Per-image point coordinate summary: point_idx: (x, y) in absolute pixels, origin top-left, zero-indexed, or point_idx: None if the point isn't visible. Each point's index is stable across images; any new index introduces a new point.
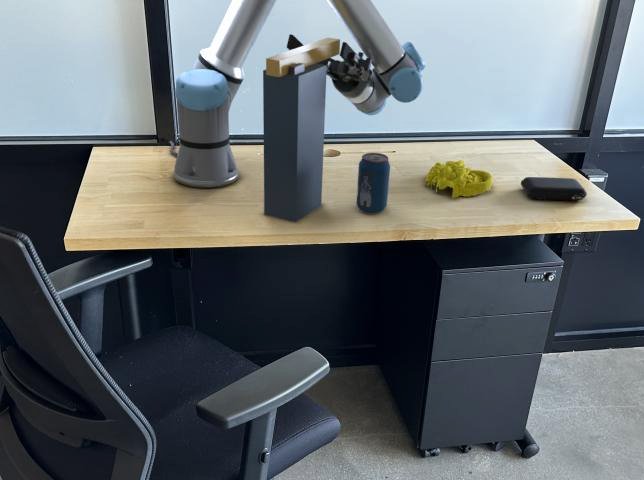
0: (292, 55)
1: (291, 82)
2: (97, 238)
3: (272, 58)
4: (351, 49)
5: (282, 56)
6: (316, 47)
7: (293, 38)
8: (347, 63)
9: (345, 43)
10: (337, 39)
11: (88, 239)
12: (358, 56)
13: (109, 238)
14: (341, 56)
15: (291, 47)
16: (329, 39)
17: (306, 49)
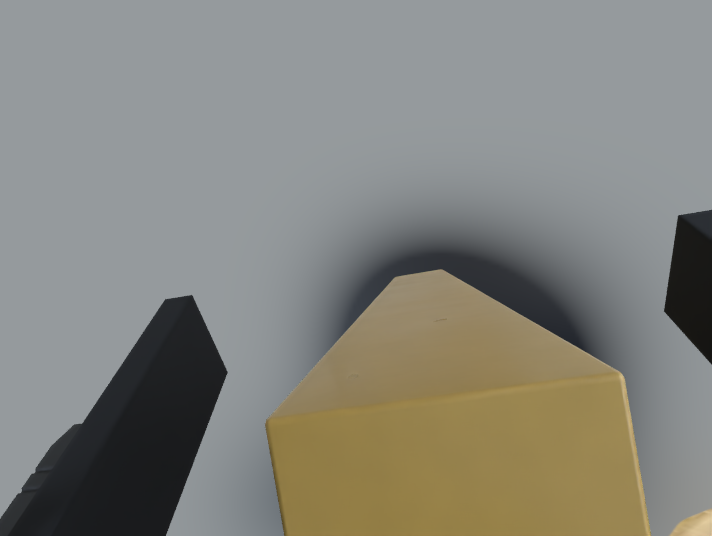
0: (394, 281)
1: None
2: (700, 521)
3: (425, 272)
4: (108, 397)
5: (416, 276)
6: (376, 299)
7: (692, 249)
8: (166, 527)
9: (171, 306)
10: (317, 393)
11: (704, 513)
12: (21, 500)
13: (688, 529)
14: (214, 386)
15: (682, 318)
16: (447, 350)
17: (399, 288)
